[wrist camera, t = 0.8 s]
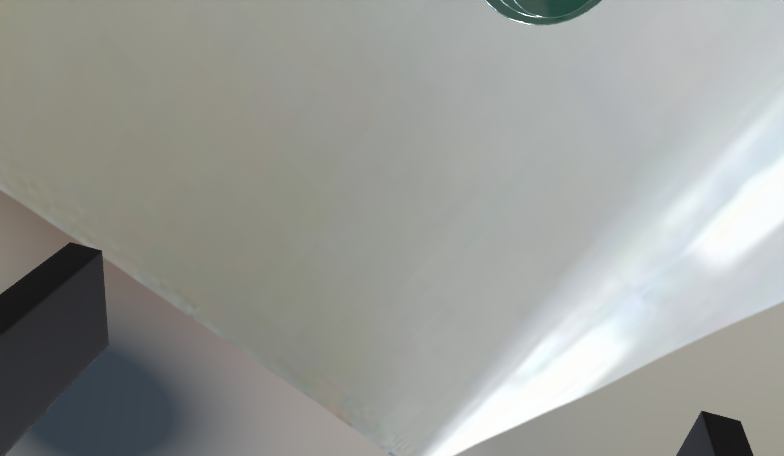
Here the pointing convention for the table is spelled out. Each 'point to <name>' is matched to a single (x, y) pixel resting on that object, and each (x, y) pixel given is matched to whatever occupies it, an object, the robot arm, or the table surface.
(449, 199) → the table surface
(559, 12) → the green bottle
